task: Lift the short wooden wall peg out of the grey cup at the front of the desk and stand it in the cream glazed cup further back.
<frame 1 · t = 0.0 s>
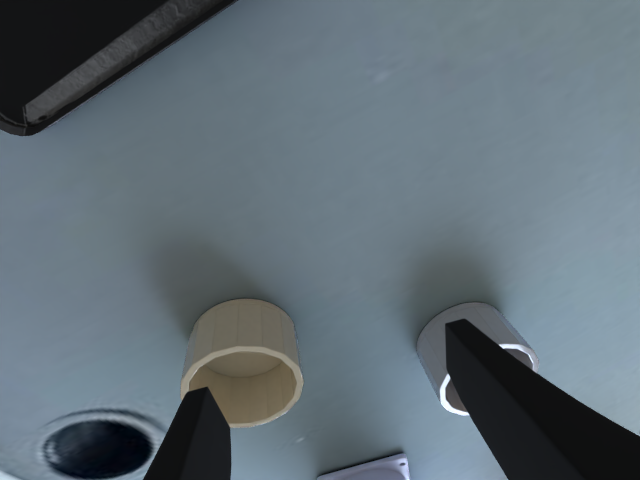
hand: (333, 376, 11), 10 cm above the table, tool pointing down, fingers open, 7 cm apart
cream cup: (244, 339, 23), on the table
grey cup: (460, 337, 26), on the table, touching wooden wall peg
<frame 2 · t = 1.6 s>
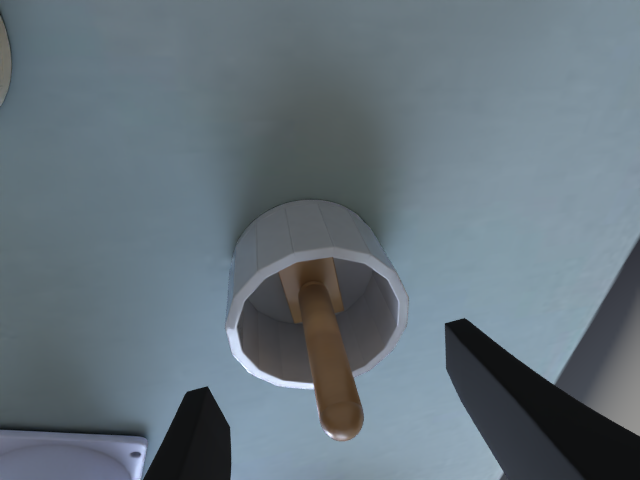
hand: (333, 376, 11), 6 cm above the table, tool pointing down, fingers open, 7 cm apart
wooden wall peg: (308, 273, 16), resting on grey cup
grey cup: (306, 266, 16), on the table, touching wooden wall peg
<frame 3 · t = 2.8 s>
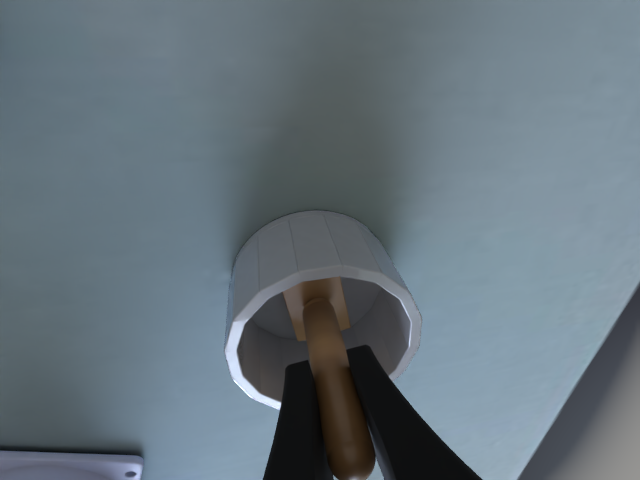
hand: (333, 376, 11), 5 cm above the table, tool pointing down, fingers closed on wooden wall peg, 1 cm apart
wooden wall peg: (312, 287, 15), resting on grey cup, touching gripper
grey cup: (311, 280, 15), on the table, touching wooden wall peg
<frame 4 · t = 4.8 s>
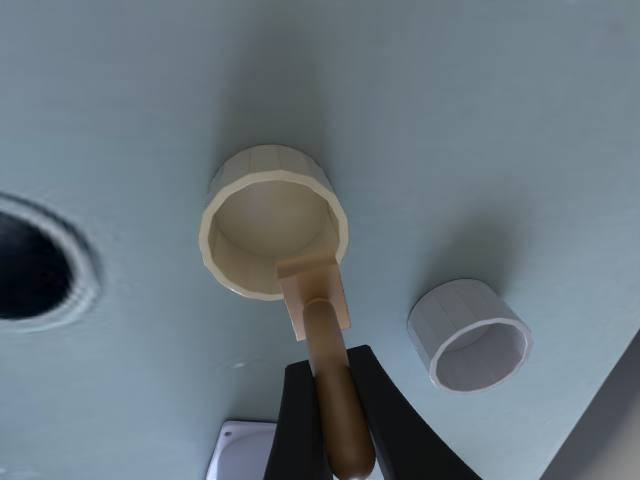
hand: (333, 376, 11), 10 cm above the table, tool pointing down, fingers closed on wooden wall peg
wooden wall peg: (312, 287, 15), point 6 cm above the table, touching gripper
cream cup: (271, 205, 20), on the table
grey cup: (452, 316, 26), on the table
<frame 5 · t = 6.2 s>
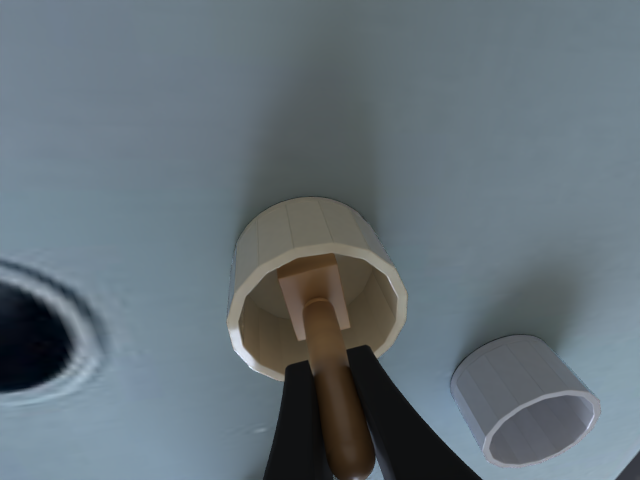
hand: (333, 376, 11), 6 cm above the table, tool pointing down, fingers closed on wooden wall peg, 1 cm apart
wooden wall peg: (312, 287, 15), point 2 cm above the table, touching gripper
cream cup: (307, 263, 17), on the table
grey cup: (500, 373, 23), on the table
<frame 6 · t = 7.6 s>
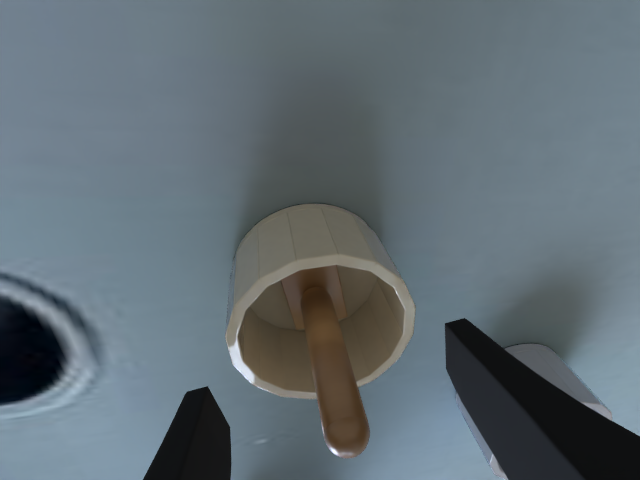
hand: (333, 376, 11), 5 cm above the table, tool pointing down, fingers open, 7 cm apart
wooden wall peg: (310, 278, 16), resting on cream cup
cream cup: (309, 272, 16), on the table, touching wooden wall peg
grey cup: (507, 383, 22), on the table
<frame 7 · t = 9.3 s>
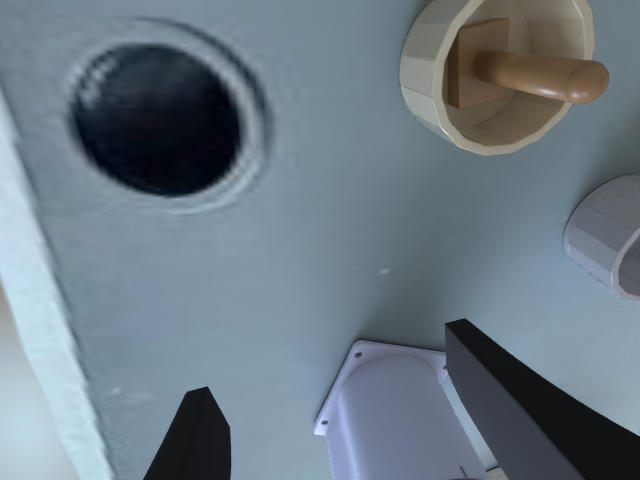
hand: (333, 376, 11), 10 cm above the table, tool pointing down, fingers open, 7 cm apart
wooden wall peg: (470, 63, 17), resting on cream cup
cream cup: (465, 63, 18), on the table, touching wooden wall peg
grey cup: (611, 223, 24), on the table
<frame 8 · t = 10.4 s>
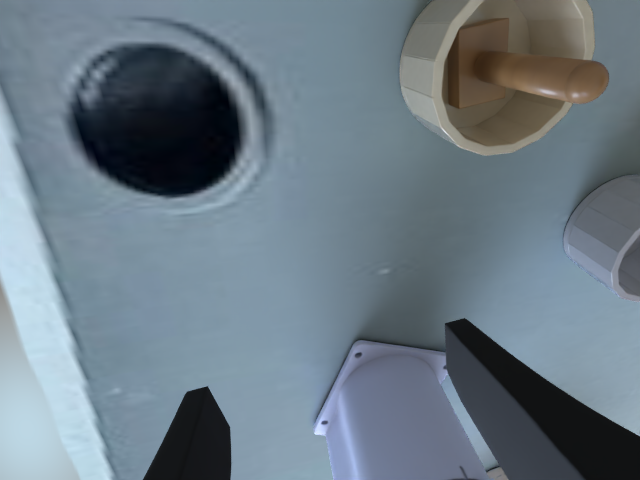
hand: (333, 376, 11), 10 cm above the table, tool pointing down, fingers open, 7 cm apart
wooden wall peg: (470, 63, 17), resting on cream cup
cream cup: (465, 63, 18), on the table, touching wooden wall peg
grey cup: (611, 223, 24), on the table
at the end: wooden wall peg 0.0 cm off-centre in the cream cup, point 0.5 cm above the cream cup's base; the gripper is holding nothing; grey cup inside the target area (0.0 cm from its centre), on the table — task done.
